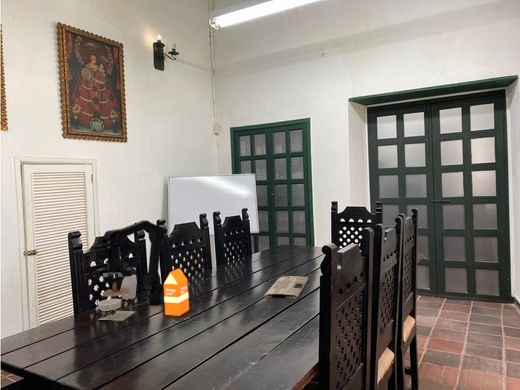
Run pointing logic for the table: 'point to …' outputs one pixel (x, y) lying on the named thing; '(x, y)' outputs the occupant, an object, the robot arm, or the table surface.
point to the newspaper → (287, 286)
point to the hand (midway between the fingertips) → (115, 290)
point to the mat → (118, 316)
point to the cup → (129, 287)
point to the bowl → (109, 304)
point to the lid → (115, 291)
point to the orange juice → (176, 293)
